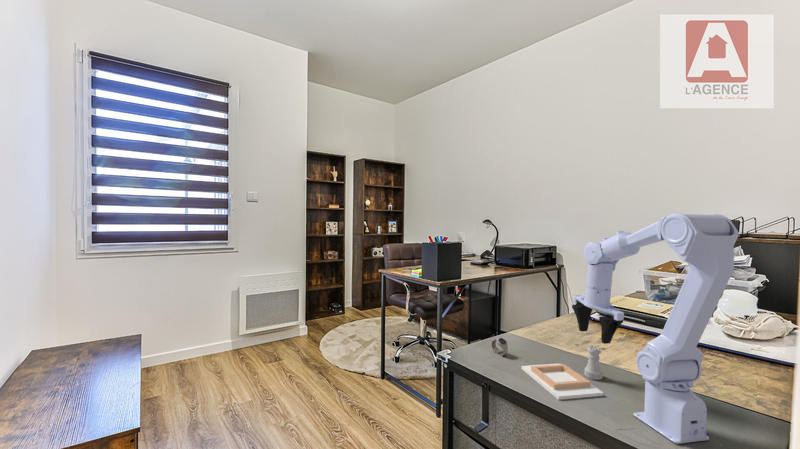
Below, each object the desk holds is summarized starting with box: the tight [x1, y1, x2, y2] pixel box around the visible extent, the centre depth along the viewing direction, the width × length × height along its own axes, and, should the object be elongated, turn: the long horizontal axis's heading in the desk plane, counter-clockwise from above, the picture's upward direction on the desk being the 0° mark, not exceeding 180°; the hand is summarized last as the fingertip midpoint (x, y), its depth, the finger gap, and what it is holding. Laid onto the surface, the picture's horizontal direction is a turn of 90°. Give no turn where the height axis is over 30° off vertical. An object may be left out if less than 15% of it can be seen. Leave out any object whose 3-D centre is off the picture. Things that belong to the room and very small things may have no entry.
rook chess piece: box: [583, 345, 604, 381], centre depth 89 cm, size 4×4×8 cm
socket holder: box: [520, 363, 604, 401], centre depth 86 cm, size 16×12×2 cm
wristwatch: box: [490, 337, 509, 357], centre depth 104 cm, size 4×6×5 cm, turn 22°
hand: (594, 336), depth 89 cm, fingers open, 7 cm apart
